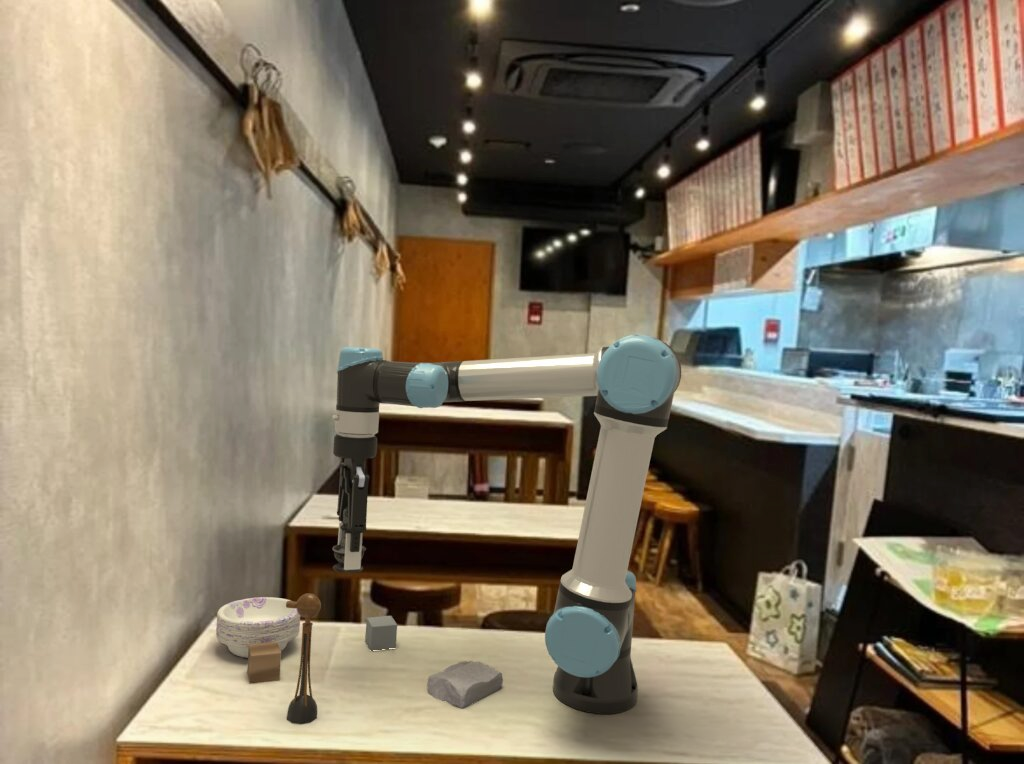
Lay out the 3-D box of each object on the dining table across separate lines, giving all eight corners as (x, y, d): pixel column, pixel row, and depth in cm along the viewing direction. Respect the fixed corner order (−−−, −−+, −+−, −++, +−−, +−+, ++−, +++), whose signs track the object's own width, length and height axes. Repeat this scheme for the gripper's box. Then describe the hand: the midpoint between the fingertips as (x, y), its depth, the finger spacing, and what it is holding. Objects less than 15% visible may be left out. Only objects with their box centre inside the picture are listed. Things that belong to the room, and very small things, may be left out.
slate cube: (395, 649, 147) (397, 624, 146) (370, 652, 145) (372, 626, 144) (389, 639, 151) (390, 615, 151) (365, 642, 149) (366, 617, 149)
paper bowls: (257, 627, 153) (259, 589, 152) (315, 645, 146) (317, 605, 146) (196, 652, 139) (199, 611, 138) (257, 673, 132) (260, 629, 132)
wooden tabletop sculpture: (275, 721, 116) (282, 596, 116) (287, 707, 121) (294, 586, 120) (311, 725, 116) (318, 600, 115) (322, 711, 120) (329, 590, 120)
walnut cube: (279, 680, 130) (281, 652, 130) (249, 684, 128) (250, 656, 128) (276, 668, 135) (277, 641, 134) (247, 671, 133) (248, 644, 132)
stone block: (421, 703, 129) (464, 711, 124) (419, 675, 130) (463, 682, 124) (464, 683, 139) (507, 690, 133) (463, 657, 140) (505, 663, 134)
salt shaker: (371, 567, 133) (375, 501, 133) (351, 575, 128) (355, 506, 128) (345, 561, 136) (348, 496, 135) (324, 569, 131) (328, 501, 130)
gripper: (325, 427, 138) (318, 549, 139) (345, 441, 121) (336, 581, 122) (365, 428, 141) (358, 547, 142) (390, 442, 124) (381, 578, 125)
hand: (348, 563), depth 132 cm, fingers closed on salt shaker, 6 cm apart
